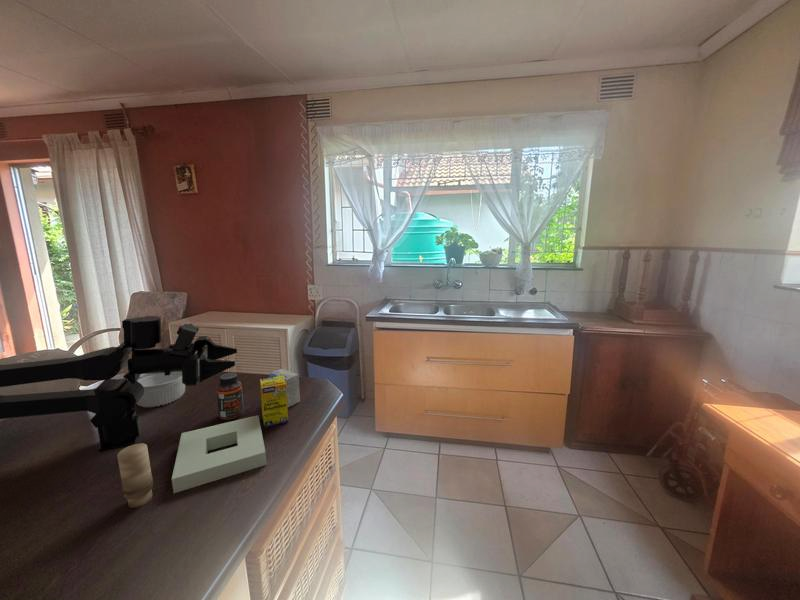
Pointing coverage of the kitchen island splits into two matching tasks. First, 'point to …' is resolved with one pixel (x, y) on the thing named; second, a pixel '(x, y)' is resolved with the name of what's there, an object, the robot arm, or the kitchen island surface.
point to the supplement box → (274, 401)
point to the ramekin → (160, 388)
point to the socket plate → (218, 453)
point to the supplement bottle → (229, 397)
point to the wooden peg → (136, 474)
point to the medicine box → (289, 385)
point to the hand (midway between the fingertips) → (235, 356)
